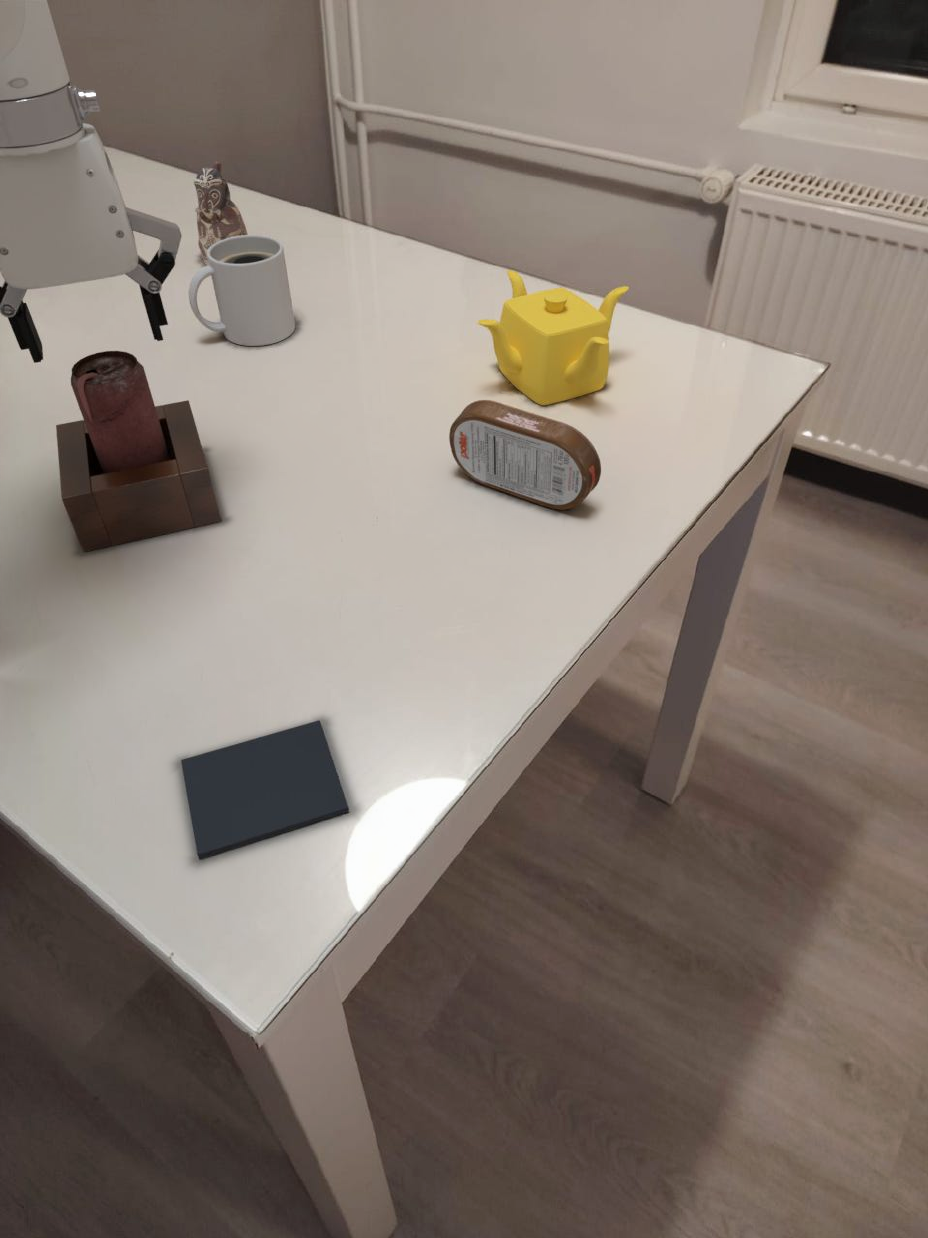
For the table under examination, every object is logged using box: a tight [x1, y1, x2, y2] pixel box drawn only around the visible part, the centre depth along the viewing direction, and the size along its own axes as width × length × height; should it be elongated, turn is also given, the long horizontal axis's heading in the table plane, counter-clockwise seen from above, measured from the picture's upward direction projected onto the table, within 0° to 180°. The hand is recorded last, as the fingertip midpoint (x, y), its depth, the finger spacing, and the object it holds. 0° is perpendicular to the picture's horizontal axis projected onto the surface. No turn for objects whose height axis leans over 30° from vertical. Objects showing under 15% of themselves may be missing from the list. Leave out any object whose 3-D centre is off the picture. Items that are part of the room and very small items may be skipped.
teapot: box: [476, 269, 630, 406], centre depth 96 cm, size 15×14×10 cm
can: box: [70, 350, 170, 474], centre depth 79 cm, size 6×6×14 cm
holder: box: [55, 399, 222, 553], centre depth 81 cm, size 12×12×6 cm
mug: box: [188, 234, 296, 347], centre depth 105 cm, size 11×10×10 cm
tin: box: [448, 399, 602, 510], centre depth 81 cm, size 15×3×8 cm, turn 59°
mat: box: [180, 719, 350, 860], centre depth 60 cm, size 10×8×1 cm
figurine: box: [193, 161, 249, 266], centre depth 120 cm, size 7×7×12 cm
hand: (99, 343), depth 73 cm, fingers open, 9 cm apart
